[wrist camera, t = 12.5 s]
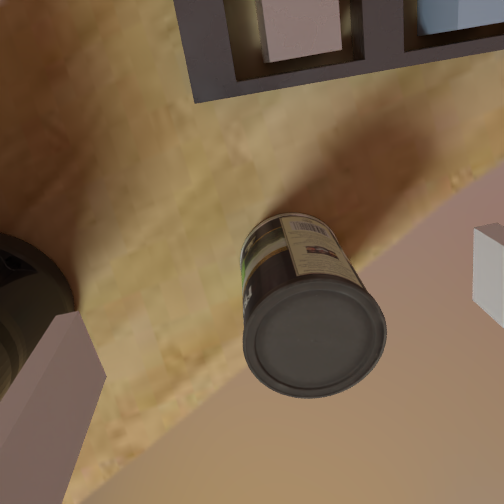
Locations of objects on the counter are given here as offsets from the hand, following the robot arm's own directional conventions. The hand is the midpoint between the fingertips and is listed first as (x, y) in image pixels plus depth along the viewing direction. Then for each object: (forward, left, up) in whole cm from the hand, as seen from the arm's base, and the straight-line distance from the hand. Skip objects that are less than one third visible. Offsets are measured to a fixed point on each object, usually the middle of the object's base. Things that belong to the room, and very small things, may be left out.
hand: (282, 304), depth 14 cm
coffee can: (+2, -11, -27) cm, 29 cm away
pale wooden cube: (+5, +10, -27) cm, 29 cm away
